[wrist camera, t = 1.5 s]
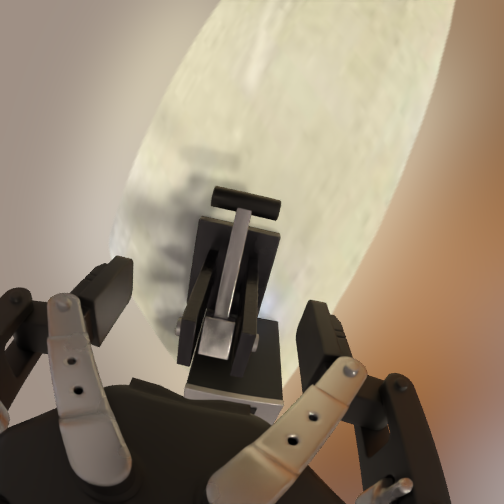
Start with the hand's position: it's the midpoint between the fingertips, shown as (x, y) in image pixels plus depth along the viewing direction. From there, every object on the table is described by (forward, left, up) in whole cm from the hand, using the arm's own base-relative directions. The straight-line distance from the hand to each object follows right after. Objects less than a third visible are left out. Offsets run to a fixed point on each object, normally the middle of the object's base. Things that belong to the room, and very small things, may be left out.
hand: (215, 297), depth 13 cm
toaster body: (+16, +3, -17) cm, 23 cm away
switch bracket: (+7, 0, -17) cm, 18 cm away
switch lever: (+4, 0, -9) cm, 10 cm away
